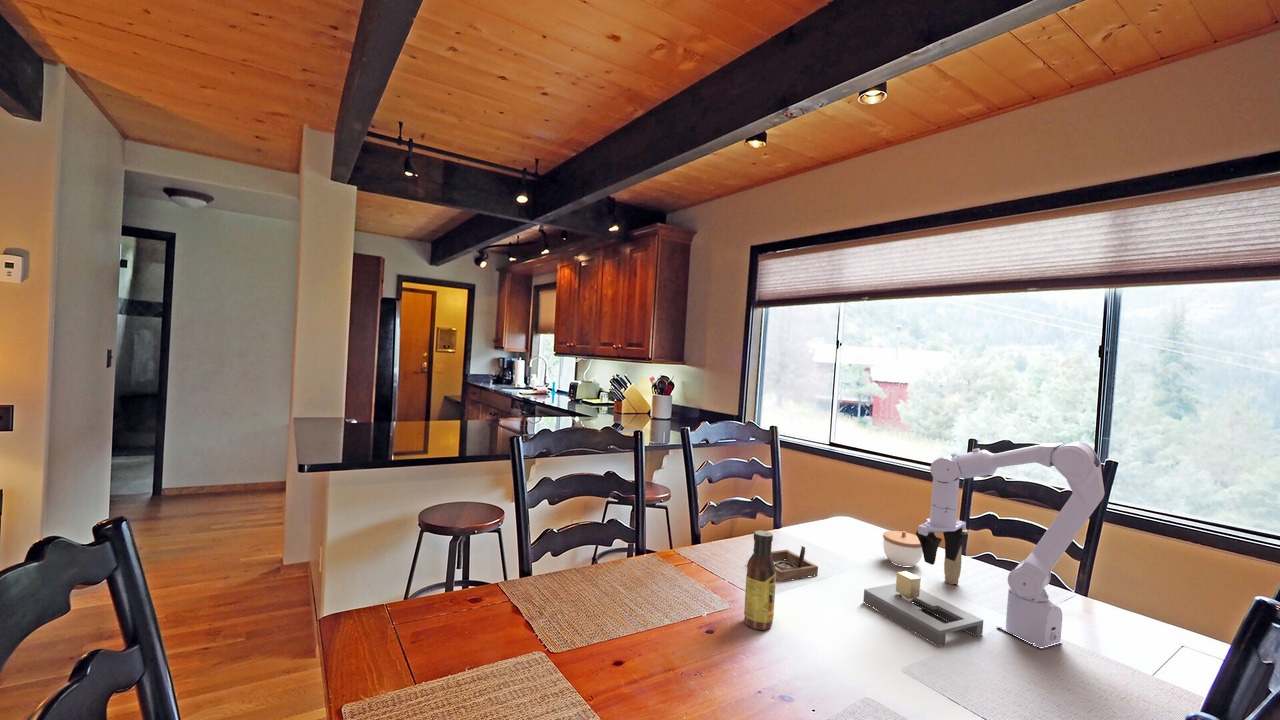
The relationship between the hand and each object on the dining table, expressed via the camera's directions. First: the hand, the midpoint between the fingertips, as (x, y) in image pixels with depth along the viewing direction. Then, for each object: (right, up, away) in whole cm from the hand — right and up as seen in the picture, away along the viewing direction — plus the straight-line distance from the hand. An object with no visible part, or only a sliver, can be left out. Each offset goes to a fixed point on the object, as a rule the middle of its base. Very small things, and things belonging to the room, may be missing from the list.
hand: (939, 561), depth 134 cm
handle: (+10, -11, +13) cm, 20 cm away
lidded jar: (+2, -10, +25) cm, 27 cm away
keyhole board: (-9, -10, -8) cm, 16 cm away
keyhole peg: (-10, -10, -5) cm, 15 cm away
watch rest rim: (-34, -8, +16) cm, 38 cm away
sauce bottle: (-48, -8, -15) cm, 50 cm away
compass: (-33, -8, +14) cm, 37 cm away
